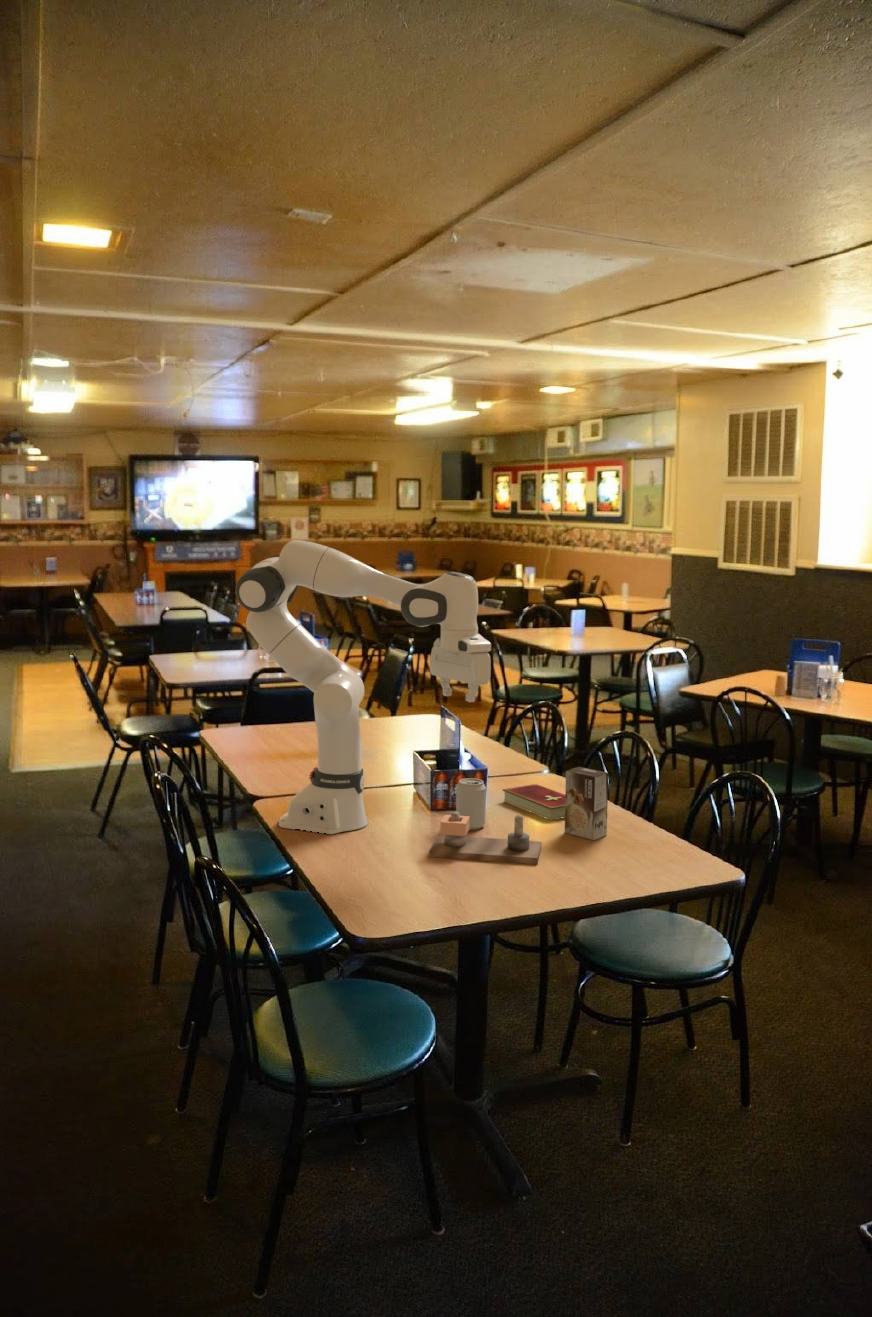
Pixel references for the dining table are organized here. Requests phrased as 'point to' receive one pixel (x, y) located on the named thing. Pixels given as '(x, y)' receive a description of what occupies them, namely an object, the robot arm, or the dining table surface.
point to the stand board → (488, 846)
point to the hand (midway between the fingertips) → (458, 698)
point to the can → (471, 801)
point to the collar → (454, 826)
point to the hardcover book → (537, 800)
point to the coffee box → (586, 803)
